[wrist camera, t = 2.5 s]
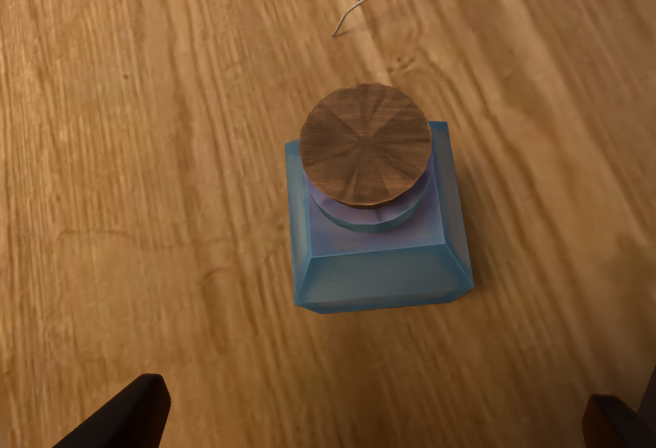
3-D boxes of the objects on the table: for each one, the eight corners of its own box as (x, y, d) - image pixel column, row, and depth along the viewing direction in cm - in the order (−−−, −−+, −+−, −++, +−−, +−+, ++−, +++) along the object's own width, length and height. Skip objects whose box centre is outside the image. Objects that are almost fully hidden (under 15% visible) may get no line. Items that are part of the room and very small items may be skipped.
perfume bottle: (320, 314, 22) (241, 284, 10) (311, 193, 23) (234, 49, 12) (450, 302, 21) (524, 256, 9) (431, 179, 22) (475, 11, 11)
